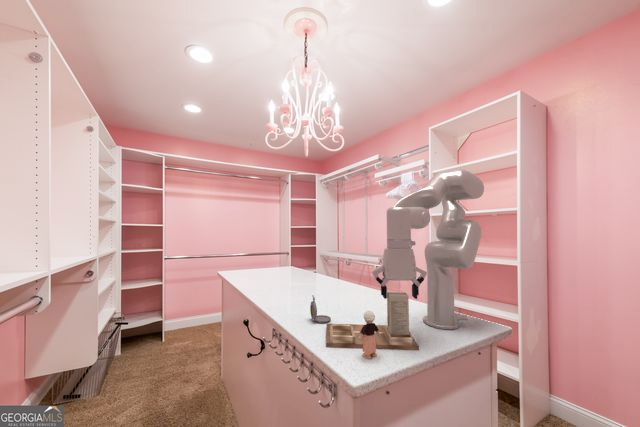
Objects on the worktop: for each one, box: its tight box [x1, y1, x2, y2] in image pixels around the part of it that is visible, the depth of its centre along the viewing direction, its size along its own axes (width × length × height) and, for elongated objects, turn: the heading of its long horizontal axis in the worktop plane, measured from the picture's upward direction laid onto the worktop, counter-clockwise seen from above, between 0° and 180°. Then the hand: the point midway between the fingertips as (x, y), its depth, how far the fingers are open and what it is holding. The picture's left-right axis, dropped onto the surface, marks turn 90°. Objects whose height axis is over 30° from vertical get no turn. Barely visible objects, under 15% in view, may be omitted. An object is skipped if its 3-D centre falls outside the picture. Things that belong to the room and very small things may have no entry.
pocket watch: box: [309, 294, 332, 324], centre depth 102 cm, size 8×8×10 cm
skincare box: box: [386, 291, 410, 335], centre depth 85 cm, size 6×4×12 cm
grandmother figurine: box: [359, 309, 380, 360], centre depth 75 cm, size 8×4×13 cm, turn 133°
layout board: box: [325, 323, 420, 351], centre depth 88 cm, size 28×16×6 cm, turn 88°
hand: (399, 297), depth 86 cm, fingers open, 9 cm apart
